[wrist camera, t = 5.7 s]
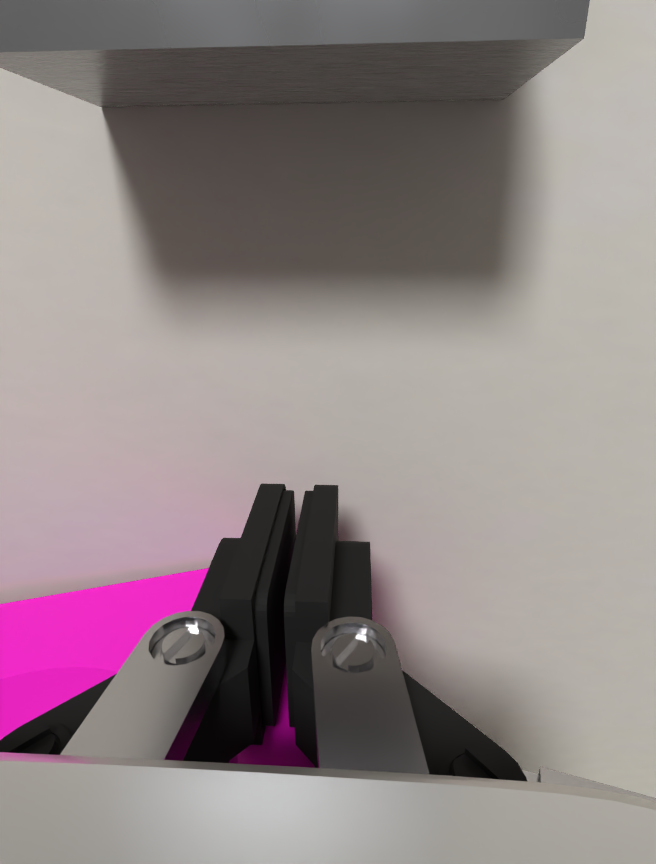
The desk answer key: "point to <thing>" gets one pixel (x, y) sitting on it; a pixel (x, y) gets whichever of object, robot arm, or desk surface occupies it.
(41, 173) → the desk surface
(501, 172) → the desk surface
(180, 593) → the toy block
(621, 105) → the desk surface
